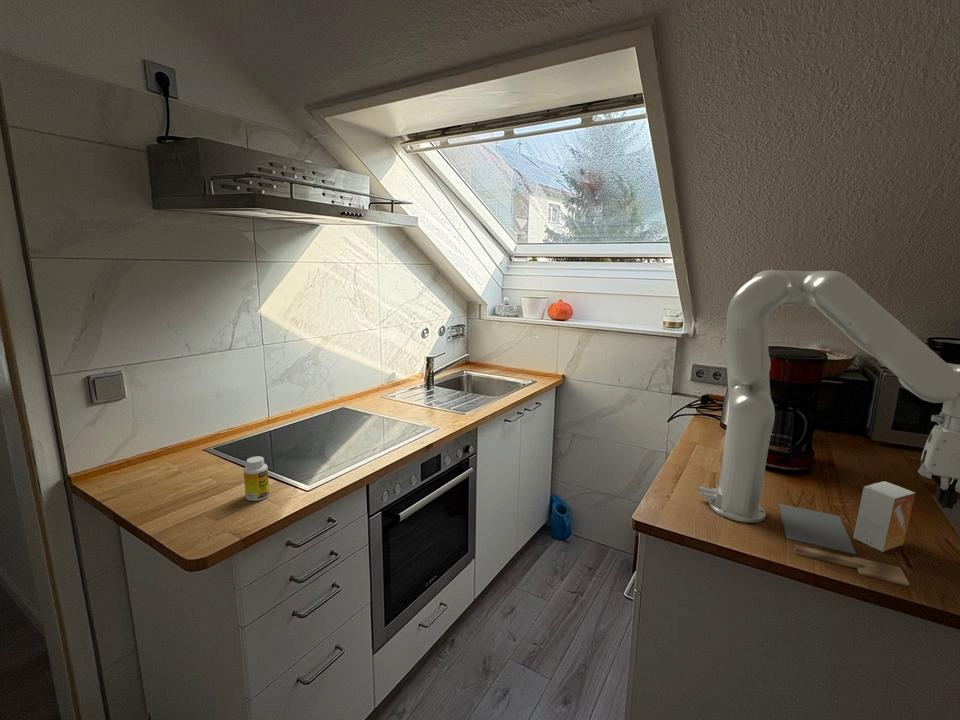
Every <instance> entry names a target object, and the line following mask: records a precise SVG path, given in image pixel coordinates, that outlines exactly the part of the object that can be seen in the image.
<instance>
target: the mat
mask: <svg viewBox="0 0 960 720" xmlns="http://www.w3.org/2000/svg"><path fill="white" fill-rule="evenodd" d="M778 507H779V510H780V511H779V512H780V516H781V521H782V525H783V529H784V534H785V538H786V540H791V541H795V542H799V543H804V544H808V545H811V546H817V547H820V548H821V547H822V548H825V549H830V550H833V551H837V552H842V553H846V554H851V555H854V556H856V555H857V552H856V550H855V547H854V546H853V543H852V541H851V539H850V537H849V535H848V532H847V530H846V528H845V525H844V523H843V521H842V519H841V516H840V515H836V514H831V513H827V512H822V511H818V510H817V511H816V510H811V509H809V508H808V509H806V508H801V507H797V506H793V505H788V504H783V503H778Z"/></svg>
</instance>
